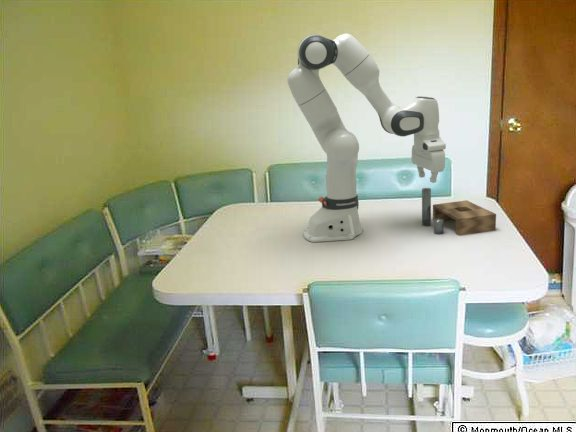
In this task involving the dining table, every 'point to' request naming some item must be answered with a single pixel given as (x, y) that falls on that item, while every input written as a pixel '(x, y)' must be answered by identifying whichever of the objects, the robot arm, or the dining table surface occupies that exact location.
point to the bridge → (466, 216)
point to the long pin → (426, 207)
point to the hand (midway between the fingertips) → (427, 179)
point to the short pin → (438, 226)
